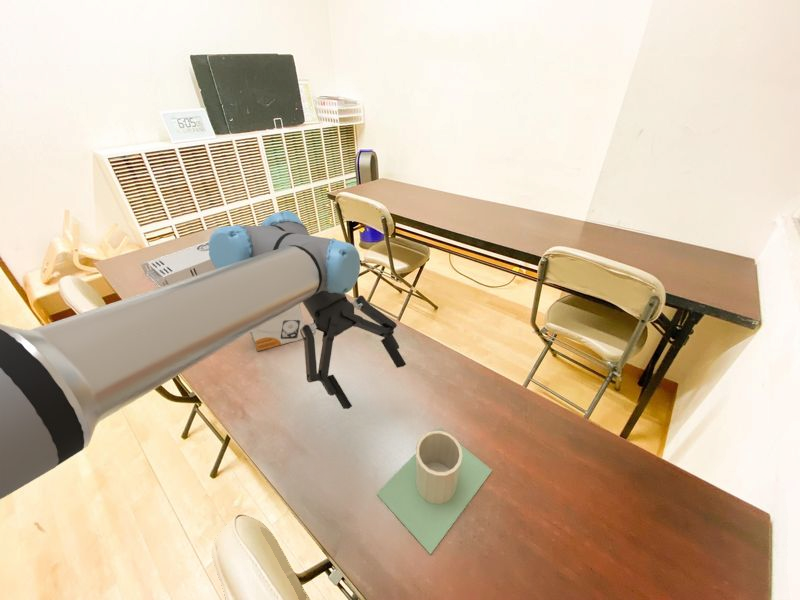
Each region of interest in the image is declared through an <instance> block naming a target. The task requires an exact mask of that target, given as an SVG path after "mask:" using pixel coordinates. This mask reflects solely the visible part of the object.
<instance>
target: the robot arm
mask: <svg viewBox="0 0 800 600" xmlns="http://www.w3.org/2000/svg"><path fill="white" fill-rule="evenodd" d="M208 241H209V244H208V246H209V256H210V259H211V262H212V264H213V265H214V267H215V268H216V269H214V270H212V271H209V272H206V273H203V274H200V275H197V276H194V277H191V278H188V279H185V280H181V281H178V282H175V283H172V284H169V285H166V286H163V287H157V288H154V289H151V290H148V291H145V292H142V293H139V294H135V295H132V296H129V297H126V298H122V299H121V300H120V299H119V300H118V301H114V302H111V303H108V304H105V305H102V306H99V307H96V308H92V309H90V310H86V311H83V312H81V313H77V314H75V315H71V316H68V317H65V318H62V319H59V320H56V321H53V322H49V323H47V324H43V325H41V326H38V327H34V328H31V329H23V328H19V327H14V326H9V325H5V324H1V323H0V500H2V499H4V498H5V497H7V496H9V495H10V494H12V493H14V492H16V491H18V490H19V489H21V488H22V487H24V486H26V485H28V484H29V483H31V482H33V481H35V480H36V479H39V478H40V477H41V476H43V475H45V474H47V473H49V472H50V471H52V470H53V469H55V468H56V467H58V466H59V465H61V464H63V463H64V462H66V461H67V460H69V459H71V458H72V457H73V456H75V455H76V454H79V453H80V452H82V451H83V450H84V449H86V448H88V446H89V445H90V443H91V441H92V438H93V435H94V433H95V430H96V427H97V426H98V424H99V423H100V422H101V421H103V420H105V419H107V418H109V417H110V416H112V415H113V414H115V413H117V412H119V411H120V410H122V409H123V408H125V407H126V406H128V405H130V404H132V403H134V402H135V401H137V400H139V399H140V398H142V397H144V396H145V395H147V394H149V393H150V392H153V391H154V390H156V389H158V388H160V387H161V386H162V385H164V384H167V382H169V381H170V380H173V379H174V378H175V377H178V376H180V375H181V374H183V373H185V372H187V371H188V370H189V369H191V368H193V367H195V366H197V365H199V364H200V363H202V362H203V361H204V360H205V361H206V359H208V358H209V357H212V356H213V355H215V354H217V353H219V352H220V351H222V350H224V349H225V348H227V347H228V346H231V345H232V344H234V343H235V342H237V341H239V340H240V339H242V338H244V337H245V336H247V335H249V334H251V332H252V331H254V330H256V329H257V328H259V327H261V326H262V325H264V324H266V323H267V322H269V321H271V320H273V319H274V318H276V317H278V316H279V315H281V314H283V313H284V312H286V311H288V310H289V309H291V308H293V307H295V306H296V305H298V304H300V305H301V304H303V306H304V307H305V309H306V310H307V313H308V314H309V315H310V317H311V318H312V321H313V323H310V324H305V326H303V327H302V328H301V329H300V333H301V335H302V337H303V339H302V340H303V345H304V359H305V374H306V381H307V383H309V384H311V383H314V382H319V383H321V384H322V386H323V388H324V389H325V392H326V393H327V395H329V396H330V397H333V396H335V397H336V399H337V401H338V403H339V404H340V406H341V407H342V409H343V410H350V409H351V408H352V407H353V405H352V403H351V402H350V400H349V398H348V397H347V395H346V393H345V392H344V390H343V388H342V387H341V385H340V384H339V382H338V380H337V379H336V376H335V375H334V374H330V375H329V371H330V365H331V363H330V362H331V357H332V351H333V344H334V340H335V337H338V336H339V335H341V334H342V333H344V332H345V331H347V330H349V329H351V328H352V327H354V328H359V329H361V330H363V331H366V332H369V333H370V334H371V333H372V334H374V335H377V336H379V337H381V338H382V339H381V340H380V342H381V344H382V345H383V347H384V348H385V350H386V353H388V355H389V357H390V359H391V360H392V362H393V364H394V365H395V367H396V368H397V369H399V368H403V367H405V366H406V365H407V363H406V361H405V360H404V358H403V357H402V355H401V353H400V352H399V350H398V349H400V345H399V343H398V342H397V340H396V338H395V336H394V333H395V329H396V328H397V326H398V325H397V322H395V321H394V320H393V319H391V318H389V317H388V316H387V315H386V314H384V313H382V312H381V311H379V310H378V309H377V308H376V307H374V306H373V305H372V304H370V303H369V302H368V301H367V299H366V298H365V297H364V296H363V295H358V296H357V297H356V298H354V300H353V301H352V302H351V301H349V300H348V297H347V295H346V294H347V293H349V292H350V291H351V290H352V289H353V288H354V287H355V285H356V283H357V281H358V280H359V277H360V276H359V275H360V272H361V256H360V253H359V251H358V248H357V247H356V246H354V244H353V243H350V242H347V241H342V240H338V239H336V238H328V237H321V236H315V235H310V233H309V231H308V228H307V226H306V225H305V224H304V223H303V222H302V220H301V219H300V217H299V216H298V214H296V213H295V212H294V211H292V210H283V211H280V212H274V213H272V214H271V215H269V216H268V217H266V218H265V219H264V220H263V221H262V222H261V223H260V225H240V224H234V225H226V226H220V227H218V228H216V229H215V230H214V231H213V232H211V235H210V237H209V240H208ZM355 309H356V310H358V311H360V312H361V313H363V314H364V315H366V316H367V317H368V318H370V319H371V320H373V321H374V322H373V321H370V320H368V319H366V318H363V317H362V316H361V315H358V314H356V313H355ZM375 322H376V323H375ZM316 330H317V331H320V332H321V333H322V340H321V341H322V342H321V343H322V345H321V349H320V350H321V351H320V356H319V363H318V365H317V353H316V341H315V335H316ZM317 366H318V369H317Z"/></svg>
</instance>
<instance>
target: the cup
mask: <svg viewBox="0 0 800 600" xmlns="http://www.w3.org/2000/svg"><path fill="white" fill-rule="evenodd" d="M443 431H444V430H443ZM443 431H438V430H431V431H429V432H426V433H424V434H423V435H422V436H421V437H420V438H419V440H418V441H417V444H416V448H415V454H416V467H415V483H416V488H417V490H418V492H419V494H420V495H421V496H422V498H424V499H425V500H426V501H428V502H430V503H433V504H442V503H445V502H447V501H449V500H450V499H451V498H452V497H453V496H454V494H455V492H456V488H457V484H458V478H459V473H460V468H461V463H462V457H463V454H462V448H461V446H460V445H461V444H460V443H459V441H458V439H457V438H456V437H454V436H453V435H452V434H450V433H449V432H447V431H444V432H443Z"/></svg>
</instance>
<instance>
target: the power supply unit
mask: <svg viewBox="0 0 800 600" xmlns="http://www.w3.org/2000/svg"><path fill="white" fill-rule="evenodd" d="M208 244H209V240H206V241H203V242H201V243H198V244H195V245H192V246H189V247H186V248H183V249H180V250H177V251H175V252H171V253H169V254H166V255H163V256H159V257H157V258H154V259H152V260H148V261H145V262H142V263H140V267H141V268H142V271H143V272H144V273H145V275H146V276H147V277H148V278H149V279H150V280H151V281H152V283H154V284H155V285H156V286H157V287H158V288H160V287H163V286H166V285H169V284H172V283H175V282H178V281H181V280H185V279H188V278H191V277H194V276H197V275H200V274H203V273H206V272H209V271H212V270H215V269H216V268H215V267H214V265H213V264H212V262H211V259H210V256H209V246H208Z"/></svg>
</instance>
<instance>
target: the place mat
mask: <svg viewBox="0 0 800 600" xmlns="http://www.w3.org/2000/svg"><path fill="white" fill-rule="evenodd" d="M437 431H443V432H445V431H444V430H443V429H442V428H441V427H440V428H438V429H437ZM460 446H461V448H462V454H463V457H462V463H461V468H460V473H459V478H458V484H457V488H456V492H455V494H454V496H453V497H452V498H451V499H450V500H449V501H447V502H445V503H442V504H433V503H430V502H428V501H426V500H425V499H424V498H422V496H421V495H420V494H419V492H418V490H417V488H416V483H415V467H416V453H414V454H413V455H412V456H411V457H410V458H409V459H408V460H407V462H406V463H405V464H404V465H402V467H401V468H400V469H399V470H398V471H396V473H395V474H394V475H393V476H392V477H391V479H390V480H388V481H387V482H386V484H384V486H383V487H382V488H381V489H379V490H378V492H376V496H377V497H378V498H379V499H380V500H381V501H382V503H383V504H384V505H385V506H386V507H387V508H388V509H389V510H390V511H391V513H392V514H393V515H394V516H395V517H396V518H397V519H398V521H400V523H401V524H402V525H403V526H404V527H405V528H406V529H407V531H408V532H409V533H410V534H411V535H412V536H413V538H414V539H415V540H416V541H417V542H418V543H419V544H420V545H421V546H422V548H423V549H424V550H425V551H426V552H427V553H428V554H429V555H430V556H431V555H432V554H433V552H434V551H435V550H436V549H437V547H438V546H439V544H440V543H441V541H442V540H443V539H444V538H445V536H446V535H447V533H448V532H449V531H450V529H451V528H452V527H453V525H454V524H455V522H457V520H458V519H459V517H460V516H461V515H462V513H463V512H464V510H465V509H466V507H467V506H468V505H469V504H470V502H471V501H472V499H473V498H474V497H475V495H476V494H477V493H478V491H479V490H480V488H481V487H482V486H483V485H484V483H485V482H486V480H487V479H488V478H489V476H490V475H491V474H492V472H493V469H492V468H490V467H489V466H488V465H487V464H486V463H484V462H483V461H482V460H480V459H479V457H477V456H475V454H473V453H472V452H470V451H469V450H468V449H467V448H465V447H464V446H463V445H462V444H460Z"/></svg>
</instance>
